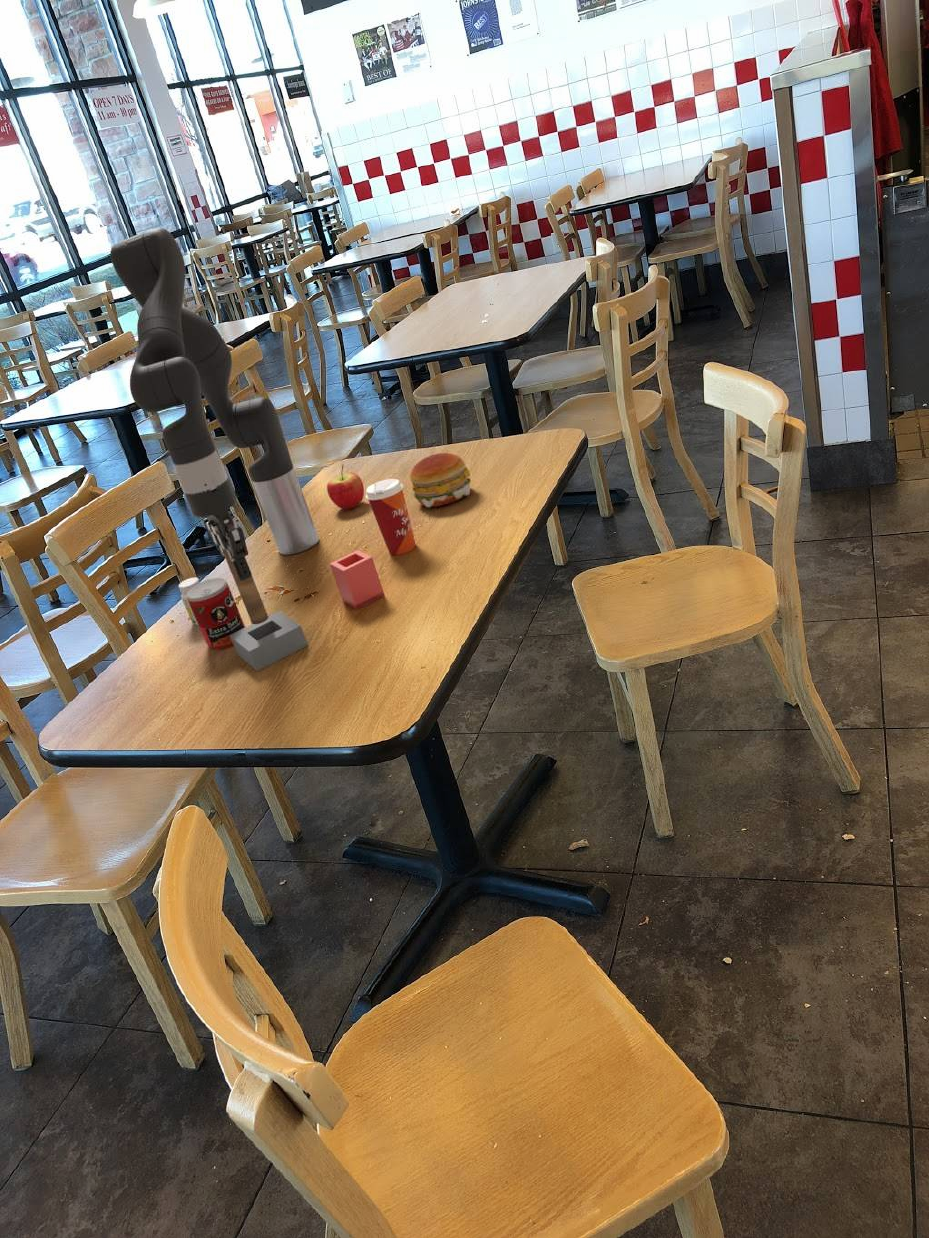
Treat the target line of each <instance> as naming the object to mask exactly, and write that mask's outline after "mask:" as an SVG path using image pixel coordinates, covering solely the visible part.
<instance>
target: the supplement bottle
mask: <svg viewBox="0 0 929 1238" xmlns="http://www.w3.org/2000/svg"><path fill="white" fill-rule="evenodd" d="M199 583H201V581H200V580H199V578H198V577H190V578H186V579H185V580H183V581H181V582H180V583H179V584H178V589H179V591H180V594H181V595H180V597H181V600H182V602H183V605H184V608H185V609H186V611H187V613H188V616H189V618H190V620H191V623H192V624H193V625H195V626H199V625H198V623H197V621H196V618H195V616H194V614H193V611H192V609H191V607H190V605H189V602H188V600H187V597H186V594H187V592H188V591H189V590H190V589H191V588H192V587H193V586H195V585H197V584H199Z"/></svg>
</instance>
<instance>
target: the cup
mask: <svg viewBox="0 0 929 1238" xmlns="http://www.w3.org/2000/svg"><path fill="white" fill-rule="evenodd" d="M329 566H330V569H331V572H332V574H333V576H334V579H335V583H336V586H337V588H338V591H339V594H340V597H341V600H342V602H343V603H345V604H347V605H348V606H350V607H352V608H354V609H356V610H359V609H361V608H363V607H365V606H367V605H370V604H371V603H372V602H375V601H376V600H378V599H380V598H382V597H385V596H386V595H385V592H384V589H383V586H382V583H381V580H380V578H379V574H378V572H377V569H376V568H377V567H376V566H375V562H374V559H373V557H372V556H370V555H369V554H367V553H364V552H362V551H361V550H358V549H357V550H355V551H353V552H351V553H349V554H347V555H345V556H343V557H340V558H339V559H336V560H335V561H332V562H329Z"/></svg>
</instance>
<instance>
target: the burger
mask: <svg viewBox="0 0 929 1238" xmlns="http://www.w3.org/2000/svg"><path fill="white" fill-rule="evenodd" d="M409 477H410V482H411V483H410V486H411V489H412V492H414V493H413V494H412V495H413V497H414V498H415V500H417V502H419V504H421V505H422V506H424V507H426V508H431V507H439V506H443V505H448V504H452V503H454V502H456V501H458V500H460V499H463V498H464V497H465V496H469V495H470V494H471V492H470V491H471V478H469V477H471V473H470V470H469V468H468V467H467V466H466V463H465V461H464V460H463V459H462V458H461V456H459V455H456V454H454V453H450V452H449V453H448V452H441V453H439V452H438V453H435V454H434V453H433V454H431V455H428V456H426V457H424V458H423V459H421V460H420V461H418V462H417V463H416V464H415V465H414V466H413V468H412V469H411V471H410V474H409Z"/></svg>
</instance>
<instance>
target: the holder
mask: <svg viewBox="0 0 929 1238" xmlns="http://www.w3.org/2000/svg"><path fill="white" fill-rule="evenodd" d="M230 638H231V640H232V643H233V647H234V650H235V652H236V655H238V656H239V657H240V658H241V659H242V660H243V661H245V662H246V663H247V664H248V665H249V666H251V667H252V668H253V669H254V670H255V671H256V672H259V671H260V670H263V669H265V668H267V667H269V666H270V665H273V664H274V663H276V662H278V661H280V660H282V659H284V658H286V657H288V656H290V655H292V654H294V653H296V652H297V651H300V650H301V649H303V648H306V647H308V646H309V644H308V641H307V639H306V636H305V633H304V631H303V628H302V625H300V624H299V623H297V622H296V621H295V620H293V619H292V618H291V617H289V616H288V615H286V614H285V613H284V612H282V611H280V610H278V611H276V612H274V613H271V614H269V615H268V619H267V620H266V621H264V622H263V623H260V624H252V623H251V624H250V625H248V626H245V628H243V629H241V630H239V631H237V632H235V633H233V634H231V635H230Z"/></svg>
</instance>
